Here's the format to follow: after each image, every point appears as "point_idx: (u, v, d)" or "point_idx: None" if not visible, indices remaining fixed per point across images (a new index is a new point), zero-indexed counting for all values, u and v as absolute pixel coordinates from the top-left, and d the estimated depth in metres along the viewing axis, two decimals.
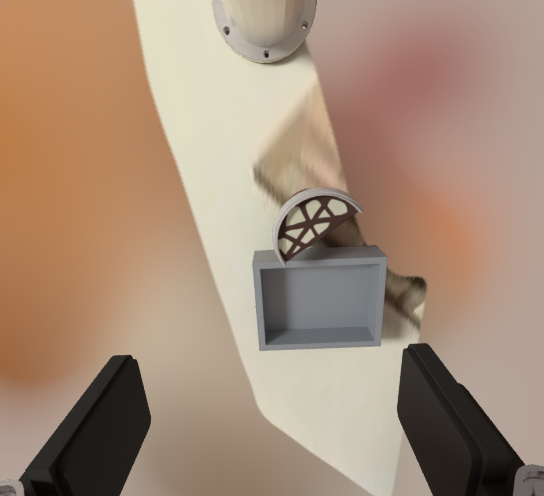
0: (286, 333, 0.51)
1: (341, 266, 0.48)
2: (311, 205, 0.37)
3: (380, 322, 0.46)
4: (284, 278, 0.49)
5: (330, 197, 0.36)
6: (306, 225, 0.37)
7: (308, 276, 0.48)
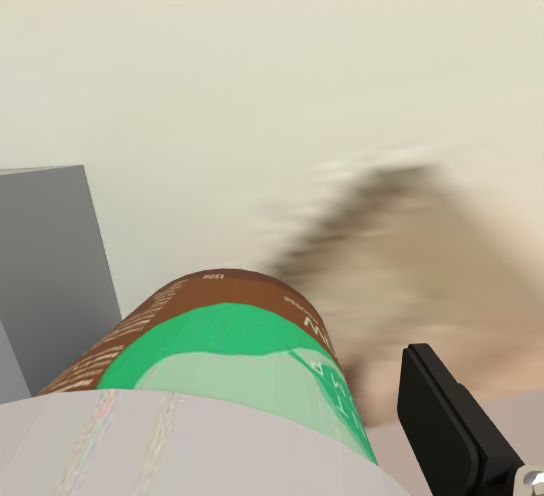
0: None
1: None
2: None
3: None
4: None
5: None
6: None
7: None
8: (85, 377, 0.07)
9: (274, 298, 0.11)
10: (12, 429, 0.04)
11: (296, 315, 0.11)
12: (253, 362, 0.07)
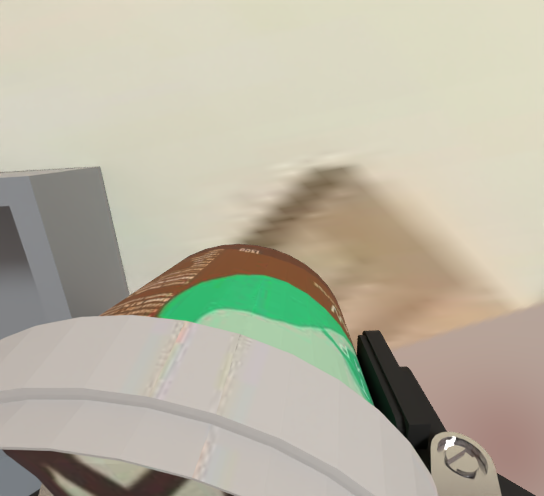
0: None
1: None
2: None
3: None
4: (24, 260, 0.16)
5: None
6: None
7: None
8: (141, 313, 0.07)
9: (306, 281, 0.11)
10: (97, 337, 0.05)
11: (324, 301, 0.11)
12: (293, 330, 0.07)
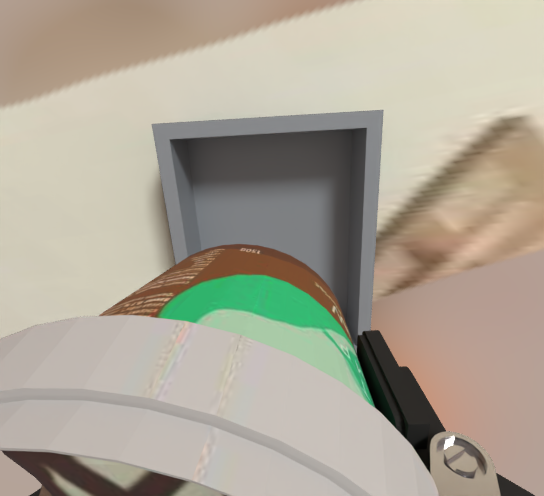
0: (188, 185, 0.24)
1: (327, 277, 0.28)
2: None
3: None
4: (308, 177, 0.25)
5: None
6: None
7: (310, 223, 0.26)
8: (141, 313, 0.07)
9: (306, 281, 0.11)
10: (97, 337, 0.05)
11: (325, 301, 0.11)
12: (294, 331, 0.07)
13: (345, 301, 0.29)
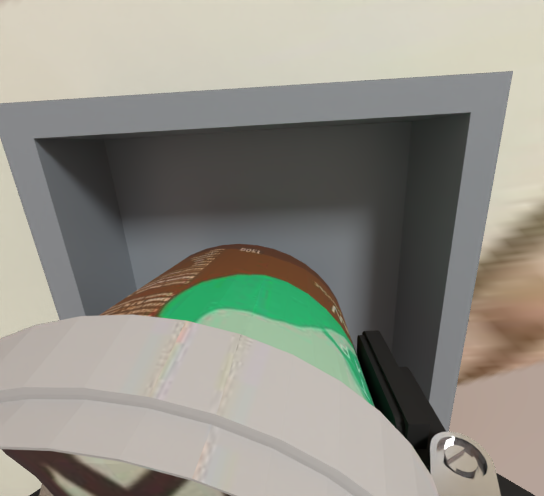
0: (108, 223, 0.13)
1: None
2: None
3: None
4: (328, 206, 0.14)
5: None
6: None
7: (330, 283, 0.15)
8: (141, 313, 0.07)
9: (306, 281, 0.11)
10: (97, 337, 0.05)
11: (325, 301, 0.11)
12: (294, 330, 0.07)
13: None
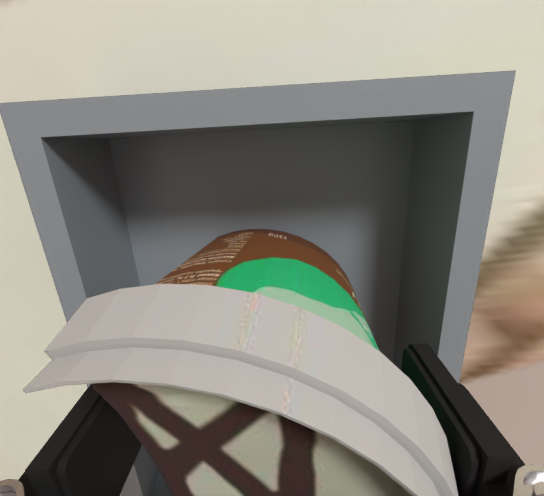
0: (113, 222, 0.13)
1: None
2: None
3: None
4: (331, 205, 0.14)
5: None
6: None
7: None
8: None
9: (330, 268, 0.12)
10: (183, 301, 0.06)
11: (347, 287, 0.12)
12: (329, 310, 0.08)
13: None
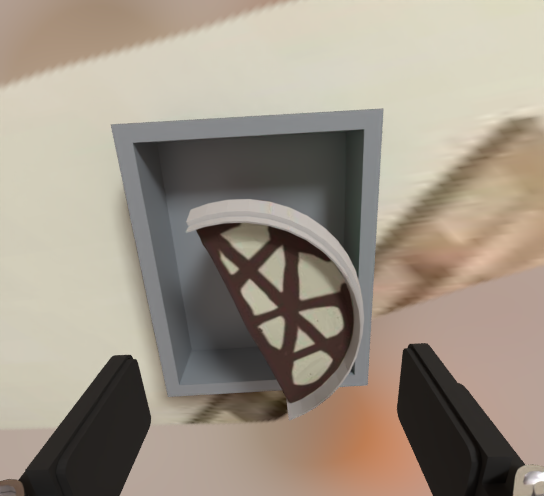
0: (160, 195, 0.21)
1: None
2: (332, 318, 0.15)
3: (224, 390, 0.23)
4: (297, 185, 0.22)
5: (337, 358, 0.16)
6: (286, 300, 0.15)
7: None
8: None
9: None
10: (241, 203, 0.14)
11: None
12: None
13: None
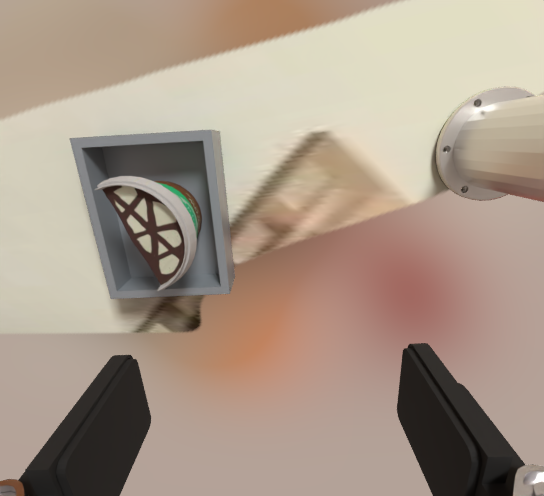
0: (103, 177, 0.36)
1: (207, 242, 0.40)
2: (175, 236, 0.30)
3: (144, 295, 0.38)
4: (185, 172, 0.37)
5: (181, 259, 0.31)
6: (150, 226, 0.30)
7: None
8: None
9: (181, 190, 0.36)
10: (125, 177, 0.29)
11: (186, 196, 0.36)
12: None
13: None
